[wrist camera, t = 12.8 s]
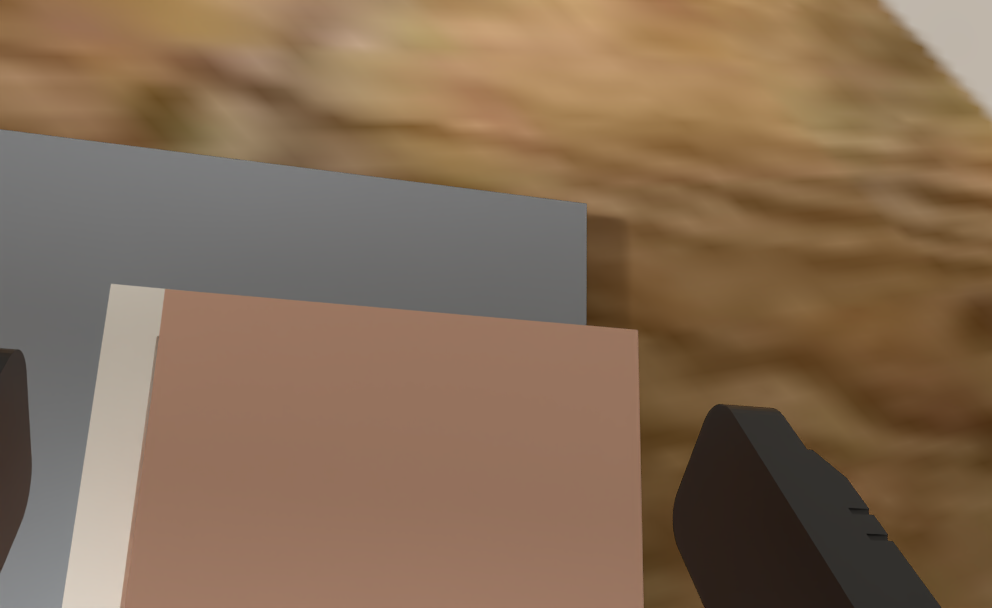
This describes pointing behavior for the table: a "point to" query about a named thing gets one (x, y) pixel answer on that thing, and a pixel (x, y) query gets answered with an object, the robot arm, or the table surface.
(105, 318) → the build board
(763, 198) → the table surface
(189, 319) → the pillar block
